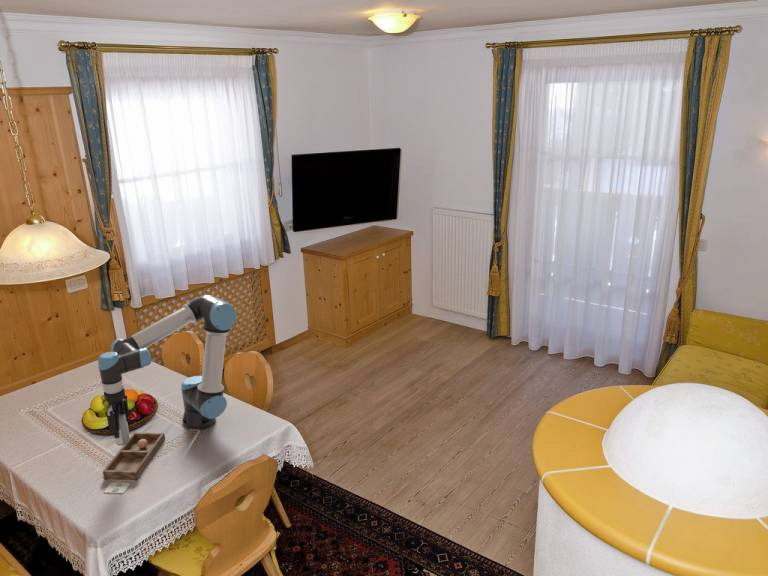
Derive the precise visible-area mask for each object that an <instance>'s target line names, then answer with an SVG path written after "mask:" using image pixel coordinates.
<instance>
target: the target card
mask: <svg viewBox="0 0 768 576" xmlns="http://www.w3.org/2000/svg"><path fill="white" fill-rule="evenodd" d="M130 485H131V483H130V482H113V481H112V482H110V484H109V485H108V486H107V487H106V489H105V490H104V492H103V493H104V494H123V495H124V493H125V492H126V490H127V489H128V488H129V487H130Z"/></svg>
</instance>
